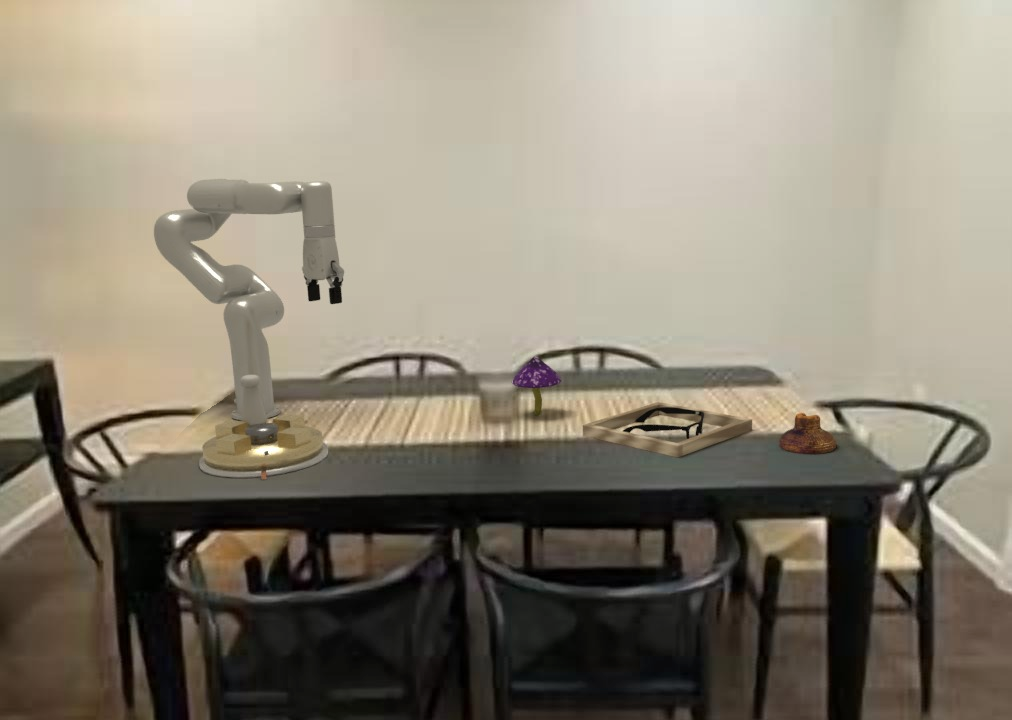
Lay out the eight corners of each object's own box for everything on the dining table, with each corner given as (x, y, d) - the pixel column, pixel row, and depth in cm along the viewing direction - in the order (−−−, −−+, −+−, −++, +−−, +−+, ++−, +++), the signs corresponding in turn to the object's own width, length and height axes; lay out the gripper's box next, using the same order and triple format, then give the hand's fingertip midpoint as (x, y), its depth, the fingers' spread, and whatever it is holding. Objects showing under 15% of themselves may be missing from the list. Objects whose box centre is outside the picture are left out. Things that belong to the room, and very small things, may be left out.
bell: (767, 444, 218) (767, 412, 217) (813, 437, 222) (814, 405, 221) (801, 458, 208) (801, 424, 206) (848, 450, 212) (849, 416, 210)
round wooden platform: (269, 476, 207) (267, 448, 206) (178, 463, 219) (175, 437, 218) (346, 443, 230) (344, 417, 228) (259, 433, 242) (257, 408, 241)
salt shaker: (264, 433, 230) (259, 377, 227) (239, 434, 230) (233, 379, 227) (270, 426, 235) (264, 372, 233) (245, 427, 235) (240, 373, 233)
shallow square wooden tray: (582, 435, 231) (582, 425, 231) (658, 411, 249) (657, 402, 248) (678, 457, 211) (677, 446, 211) (752, 429, 229) (752, 419, 229)
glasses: (691, 450, 220) (691, 428, 219) (614, 441, 227) (614, 419, 226) (709, 431, 234) (710, 410, 233) (636, 422, 242) (637, 402, 241)
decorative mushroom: (502, 416, 252) (500, 357, 249) (540, 406, 260) (537, 349, 257) (535, 424, 242) (533, 363, 239) (573, 414, 250) (571, 355, 247)
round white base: (177, 461, 226) (177, 456, 225) (287, 434, 244) (286, 429, 244) (238, 486, 205) (237, 481, 205) (352, 455, 224) (352, 450, 223)
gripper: (287, 233, 250) (293, 301, 253) (325, 234, 237) (331, 306, 241) (313, 230, 255) (319, 297, 258) (352, 232, 242) (357, 302, 246)
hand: (325, 302), depth 249 cm, fingers open, 9 cm apart
